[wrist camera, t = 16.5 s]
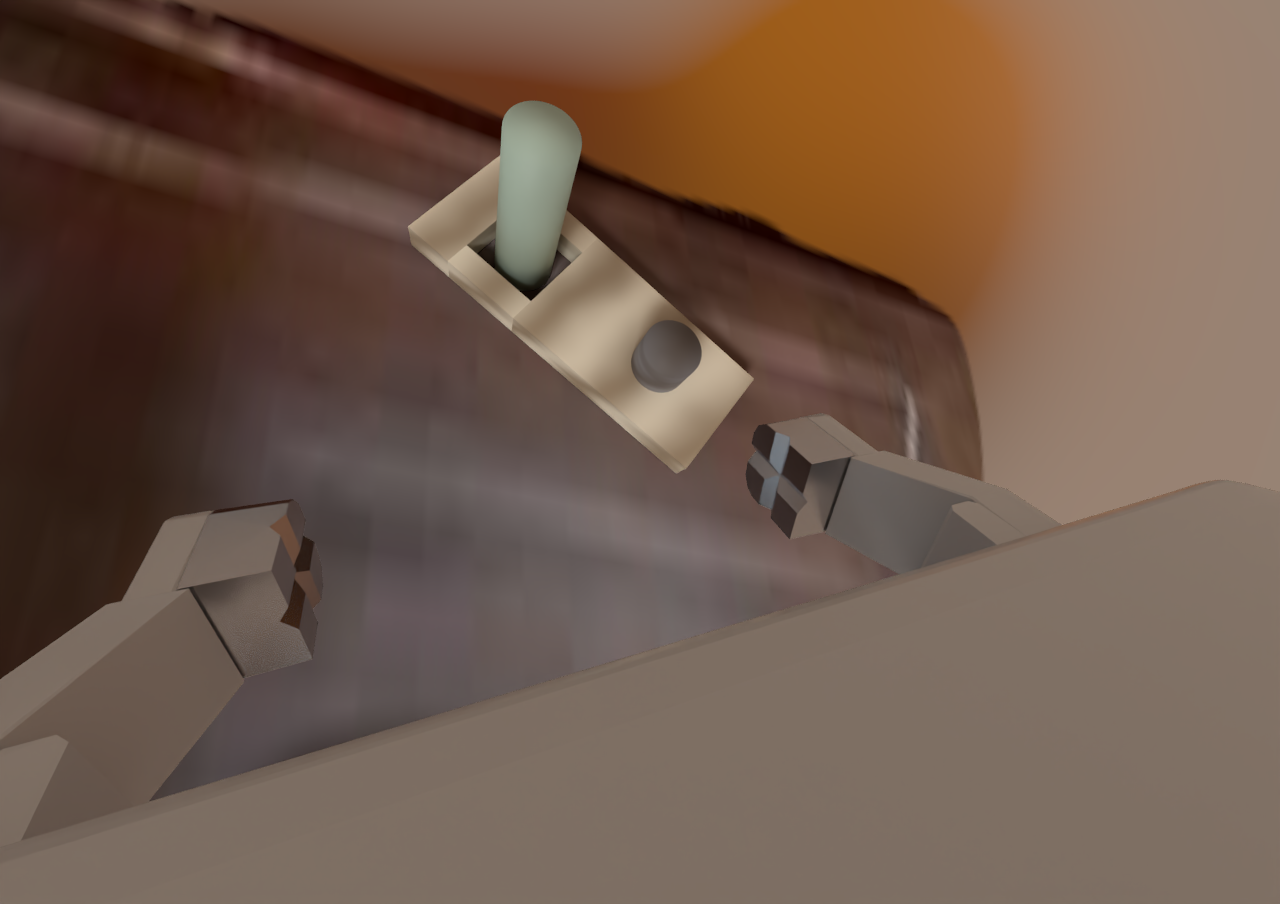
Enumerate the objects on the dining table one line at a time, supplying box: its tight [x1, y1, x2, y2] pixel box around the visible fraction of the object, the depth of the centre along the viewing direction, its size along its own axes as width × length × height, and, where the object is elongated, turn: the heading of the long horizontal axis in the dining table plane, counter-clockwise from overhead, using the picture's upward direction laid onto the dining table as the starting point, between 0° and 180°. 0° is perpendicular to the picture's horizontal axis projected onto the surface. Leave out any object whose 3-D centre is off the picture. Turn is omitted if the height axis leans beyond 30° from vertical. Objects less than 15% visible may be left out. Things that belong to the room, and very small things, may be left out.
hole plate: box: [408, 156, 754, 473], centre depth 36 cm, size 24×9×5 cm, turn 52°
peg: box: [494, 101, 582, 291], centre depth 32 cm, size 4×4×12 cm
